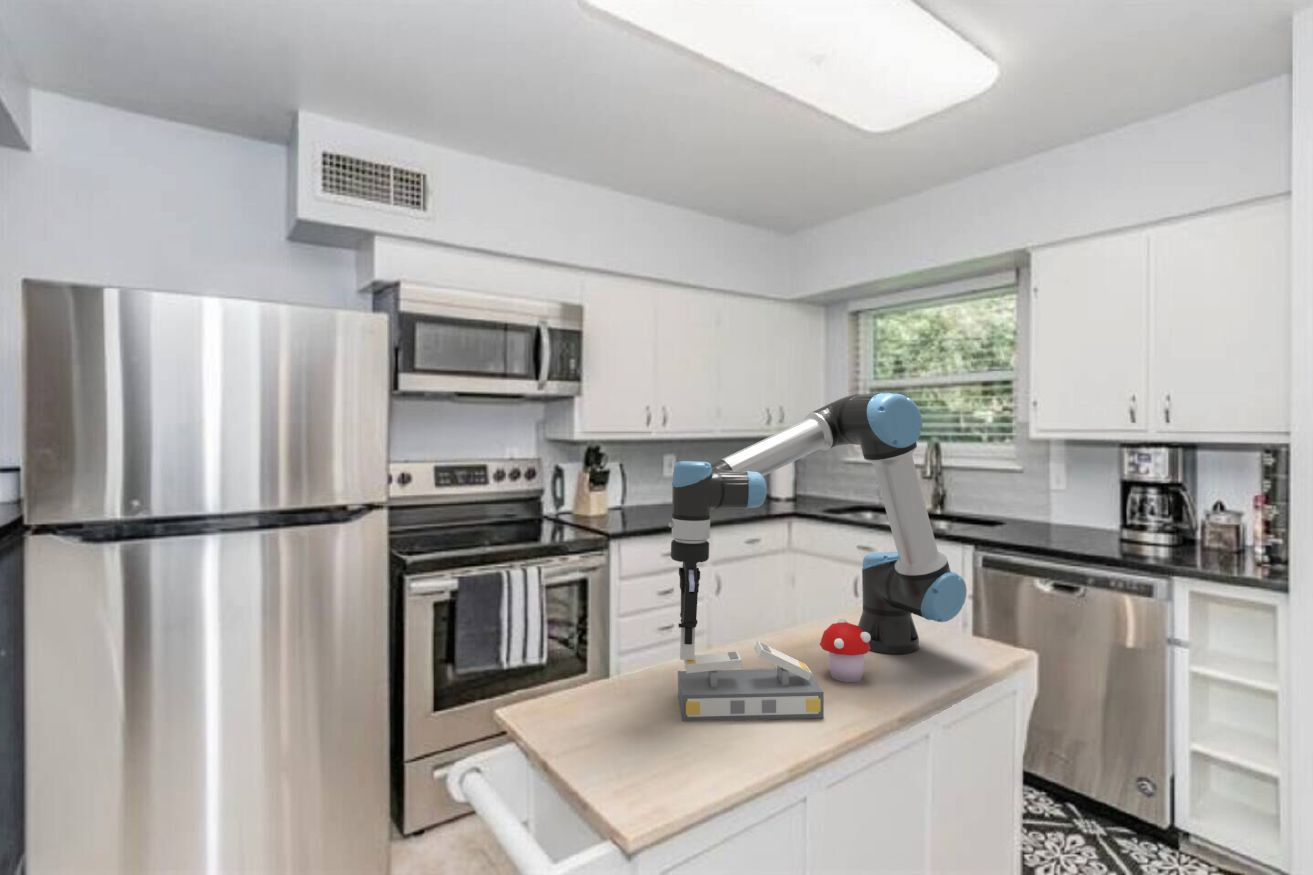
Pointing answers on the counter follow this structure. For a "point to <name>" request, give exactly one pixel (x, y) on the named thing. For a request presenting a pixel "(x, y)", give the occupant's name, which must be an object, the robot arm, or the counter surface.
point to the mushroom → (845, 650)
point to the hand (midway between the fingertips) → (687, 658)
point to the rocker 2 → (782, 660)
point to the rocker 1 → (713, 662)
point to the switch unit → (748, 695)
